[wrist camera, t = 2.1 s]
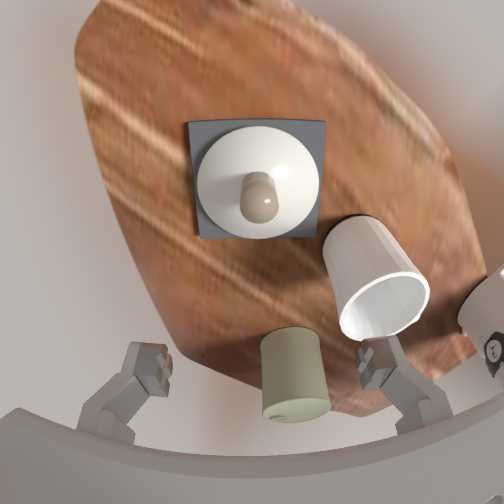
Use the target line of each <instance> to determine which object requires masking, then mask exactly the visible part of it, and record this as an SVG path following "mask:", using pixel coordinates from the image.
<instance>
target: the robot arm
mask: <svg viewBox="0 0 504 504" xmlns="http://www.w3.org/2000/svg"><path fill="white" fill-rule="evenodd" d="M458 324H459V325H460V326H461V327H462V333H463V335H464V336H468V337H469V339H470V340H471V342H472V344H473V345H474V347H475V348H476V350H477V351H478V353H479V354H480V356H481V357H482V358H485V359H486V365H487V367H488V370H489V372H490V373H491V375H492V377H493V378H495V379H496V381H497V383H498V385H499V388H500V390H501V394H499V395H496V396H494V397H493V398H491V399H489V400H487V401H485V402H483V403H481V404H479V405H477V406H474V407H472V408H470V409H468V410H466V411H464V412H461V413H459V414H457V415H454V416H453V413H452V410H451V408H450V404H449V402H448V399H447V396H446V394H445V392H444V391H443V390H442V389H440V388H439V387H438V386H437V385H436V384H434V383H433V382H432V381H431V380H430V379H429V378H427V377H426V376H425V375H424V374H422V373H421V372H420V371H419V370H418V369H416V368H415V367H414V366H413V365H411V364H410V365H408V362H407V360H406V357H405V355H404V352H403V350H402V347H401V345H400V342H399V340H398V338H397V336H396V335H390V336H381V337H374V338H367V339H364V340H362V342H361V348H360V349H359V350H358V351H357V353H356V359H355V361H356V367H357V370H358V371H359V372H360V373H361V376H360V378H359V379H360V383H361V386H362V390H363V391H367V390H373V389H379V388H380V390H381V391H382V392H383V394H384V395H385V396H386V397H387V398H388V399H389V400H390V401H391V402H392V403H393V404H394V405H395V407H396V408H397V409H398V410H399V411H400V412H401V413H402V414H403V415H404V416H403V417H402V418H401V419H400V420H399V421H398V422H397V423H396V424H395V426H396V430H397V434H398V435H397V436H394V437H390V438H387V439H382V440H378V441H374V442H370V443H365V444H361V445H356V446H350V447H345V448H340V449H334V450H327V451H320V452H311V453H302V454H291V455H278V456H277V455H276V456H215V455H200V454H188V453H180V452H171V451H165V450H158V449H151V448H146V447H141V446H136V445H134V440H135V433H134V431H132V429H130V428H129V427H128V426H127V425H126V424H127V423H128V422H129V420H130V419H131V418H132V417H133V416H134V415H135V413H136V412H137V411H138V410H139V409H140V407H141V406H142V405H143V404H144V403H145V402H146V400H147V399H148V398H149V396H159V397H168V392H169V386H170V383H169V381H168V378H169V377H170V376H171V375H172V368H173V363H172V358H171V355H170V354H168V353H167V351H168V348H167V346H166V344H154V343H143V342H131V343H130V345H129V347H128V350H127V354H126V357H125V360H124V363H123V367H122V370H121V373H117V374H116V375H115V376H114V377H113V378H112V379H110V380H109V381H108V382H107V383H106V384H105V385H104V386H103V387H102V388H101V389H99V390H98V391H97V392H96V393H95V394H94V395H93V396H92V397H91V398H89V399H88V400H87V401H86V402H85V403H84V404H83V407H82V410H81V414H80V417H79V421H78V425H77V428H76V430H75V429H72V428H69V427H66V426H63V425H61V424H58V423H55V422H53V421H50V420H48V419H45V418H43V417H40V416H38V415H36V414H33V413H31V412H29V411H27V410H25V409H22V408H16V409H14V410H12V411H11V412H10V413H8V414H7V415H5V416H4V417H3V418H1V419H0V504H504V262H503V263H502V264H501V266H500V267H499V268H498V269H497V270H496V271H495V272H494V273H493V274H492V275H491V276H489V277H488V278H486V279H485V280H484V281H483V282H482V283H480V284H479V285H478V286H477V287H476V288H475V289H474V291H473V292H472V293H471V294H470V295H469V297H468V298H467V299H466V301H465V302H464V304H463V305H462V307H461V309H460V311H459V314H458Z"/></svg>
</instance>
